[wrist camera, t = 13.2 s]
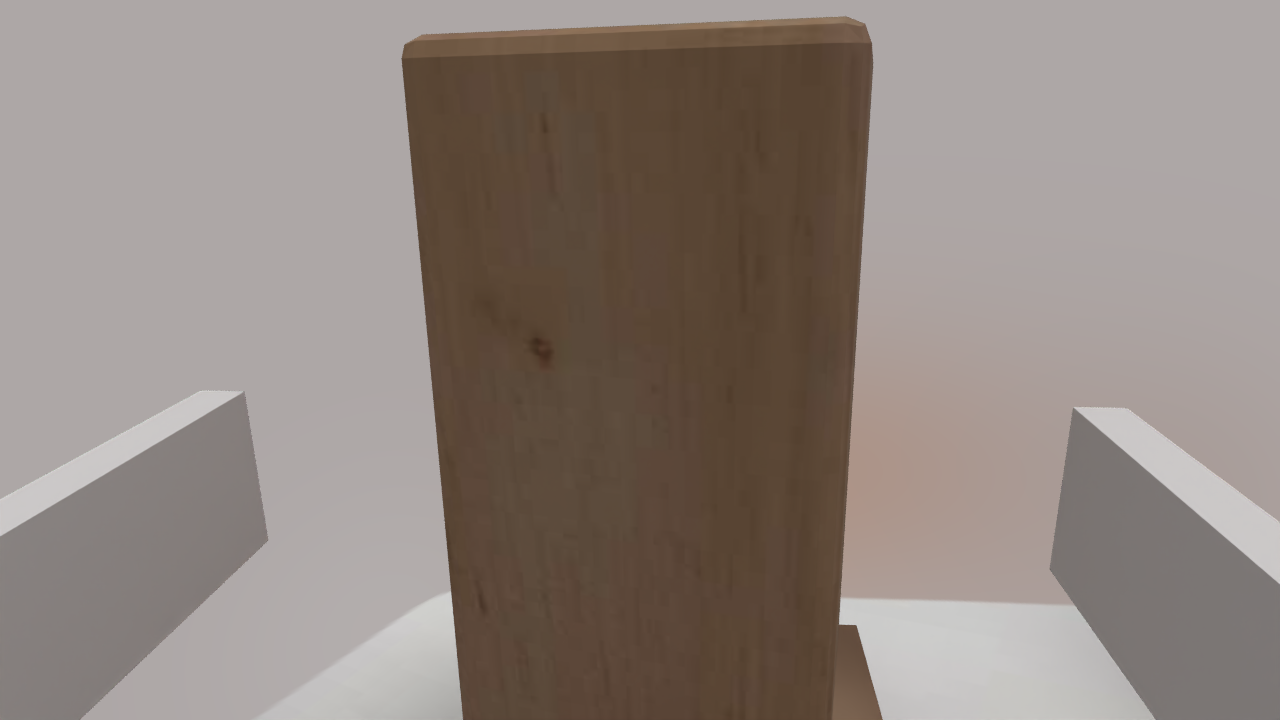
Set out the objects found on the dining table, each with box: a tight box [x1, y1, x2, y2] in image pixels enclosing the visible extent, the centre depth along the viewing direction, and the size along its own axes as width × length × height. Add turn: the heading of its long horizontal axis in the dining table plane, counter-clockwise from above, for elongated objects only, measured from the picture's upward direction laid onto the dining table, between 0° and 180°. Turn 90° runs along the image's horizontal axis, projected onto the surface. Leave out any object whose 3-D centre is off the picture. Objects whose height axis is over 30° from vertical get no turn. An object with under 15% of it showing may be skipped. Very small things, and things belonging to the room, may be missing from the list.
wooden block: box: [402, 17, 873, 720], centre depth 24 cm, size 10×10×20 cm
